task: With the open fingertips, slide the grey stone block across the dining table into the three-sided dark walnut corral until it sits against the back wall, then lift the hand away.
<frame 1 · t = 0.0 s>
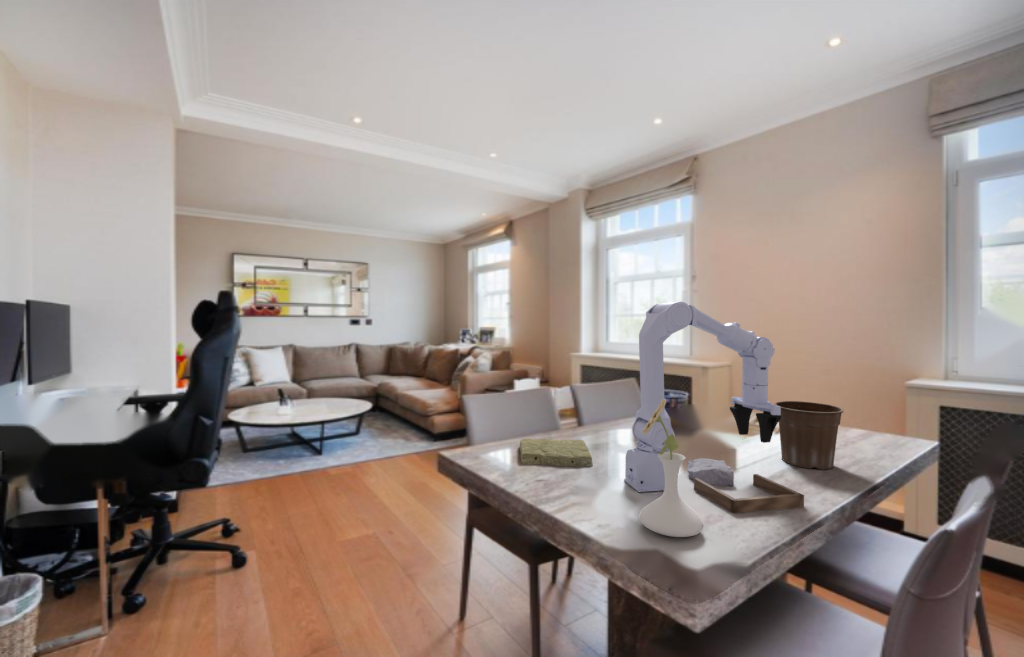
hand: (754, 438, 112), 10 cm above the table, tool pointing down, fingers open, 7 cm apart
walnut corral: (740, 494, 101), on the table
stone block: (707, 478, 113), on the table
decorative tile: (554, 458, 130), on the table
flower in vase: (668, 531, 83), on the table
plant pot: (806, 463, 125), on the table
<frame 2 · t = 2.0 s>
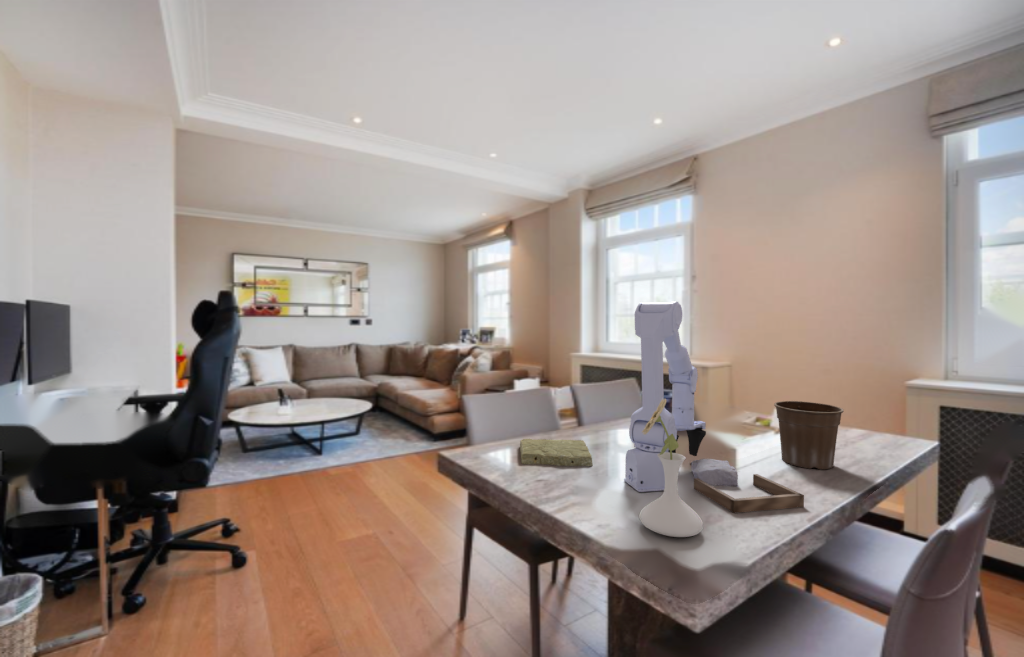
hand: (682, 456, 124), 2 cm above the table, tool pointing down, fingers open, 7 cm apart
nothing on the table moved.
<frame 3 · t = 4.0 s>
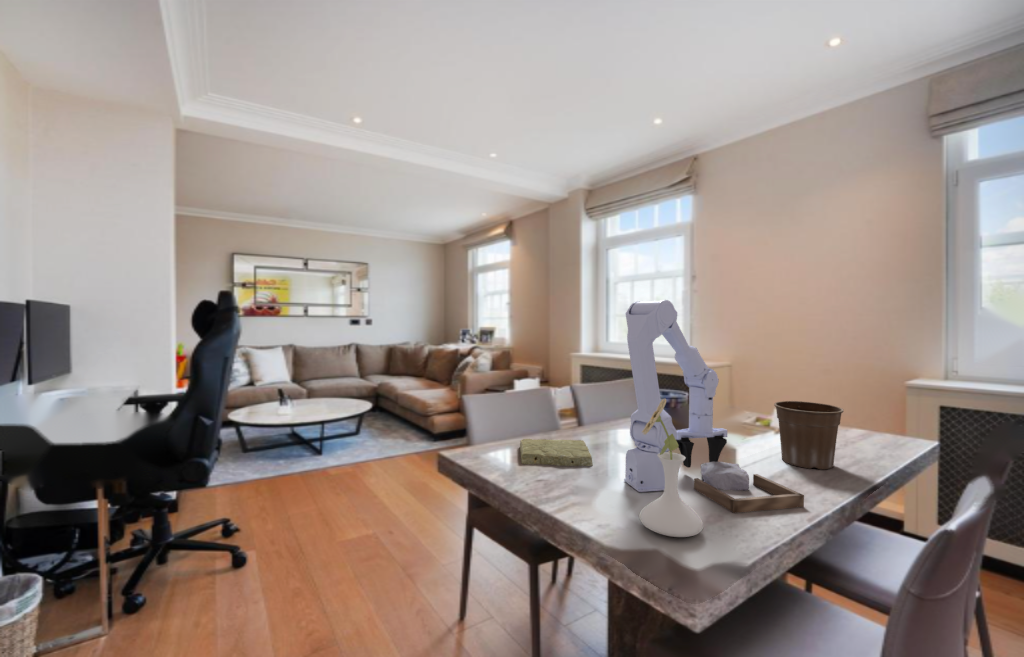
hand: (700, 465, 116), 2 cm above the table, tool pointing down, fingers open, 7 cm apart
stone block: (721, 482, 110), on the table, touching gripper
everything else where it was.
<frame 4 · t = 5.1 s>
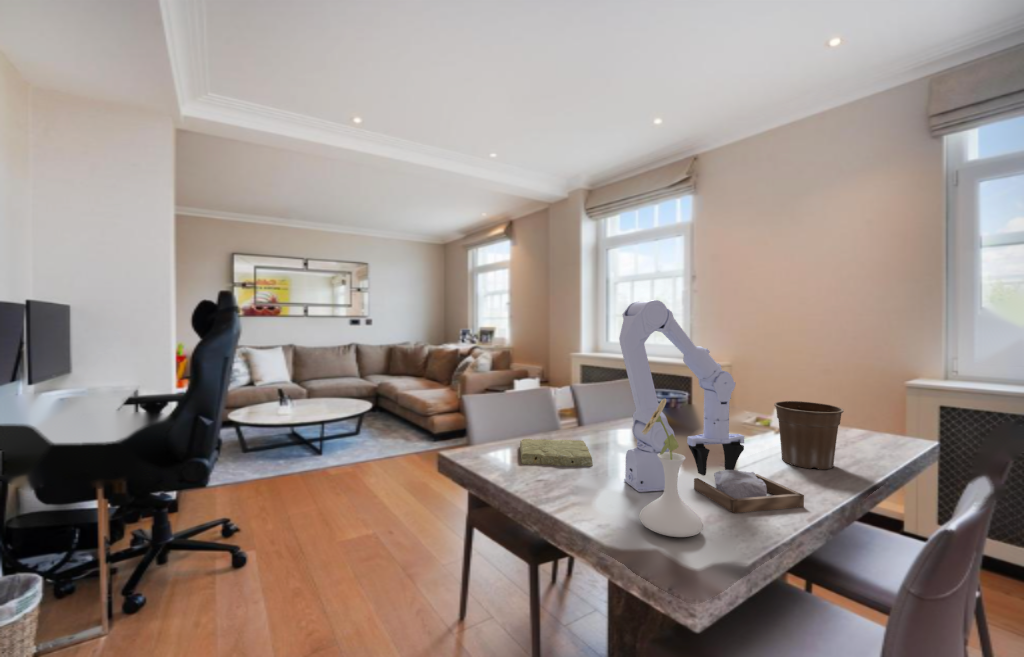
hand: (715, 473, 110), 2 cm above the table, tool pointing down, fingers open, 7 cm apart
stone block: (736, 492, 104), on the table
everything else where it was.
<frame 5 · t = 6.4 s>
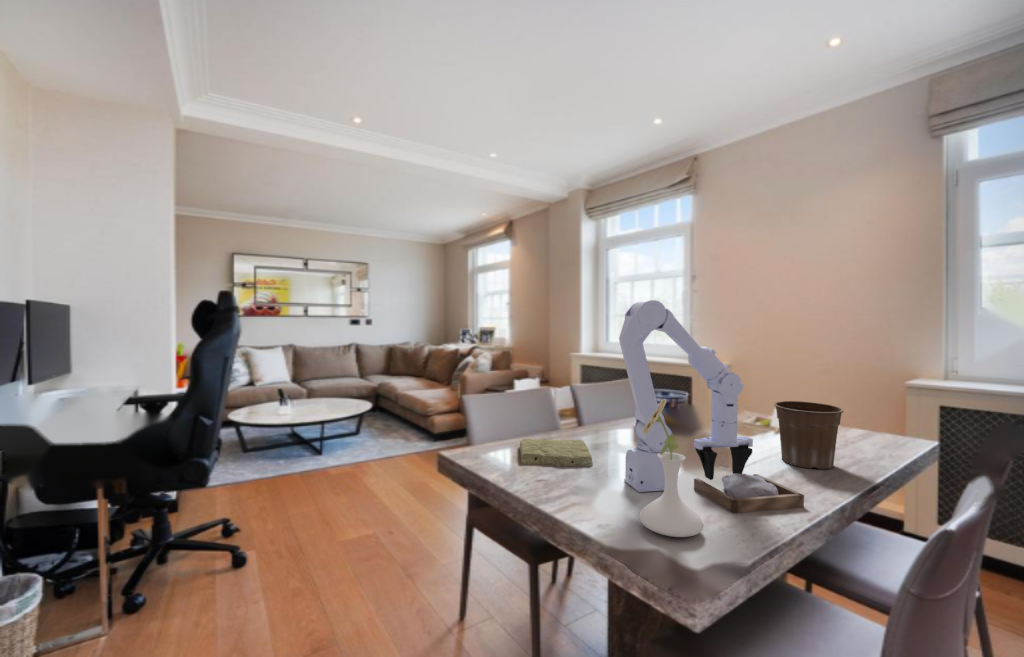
hand: (723, 477, 107), 2 cm above the table, tool pointing down, fingers open, 7 cm apart
stone block: (746, 497, 101), on the table
everything else where it was.
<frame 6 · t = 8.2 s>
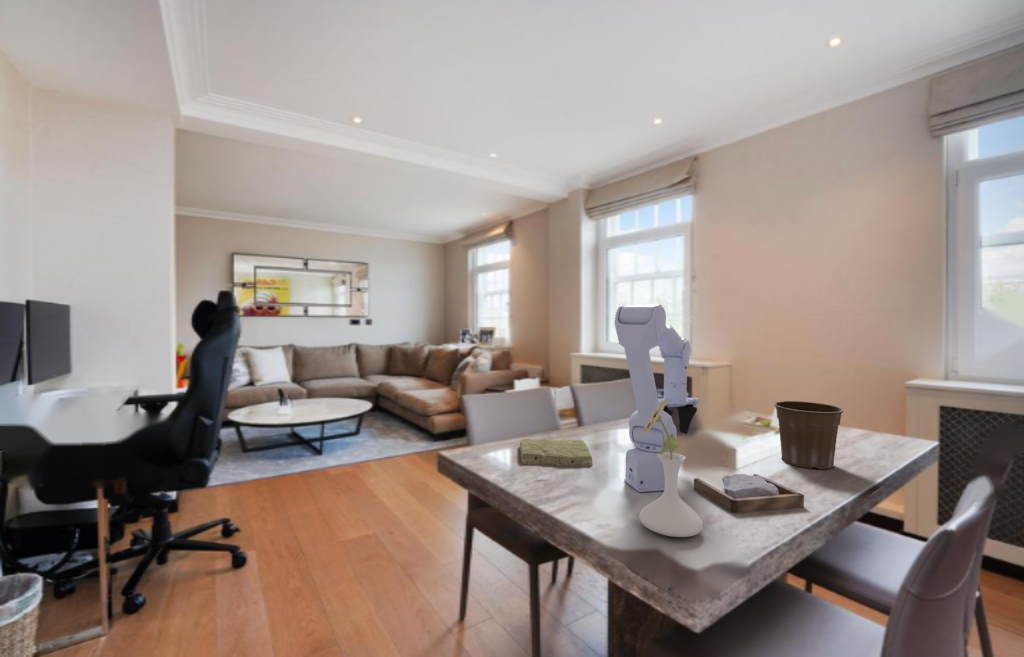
hand: (674, 433, 119), 9 cm above the table, tool pointing down, fingers open, 6 cm apart
nothing on the table moved.
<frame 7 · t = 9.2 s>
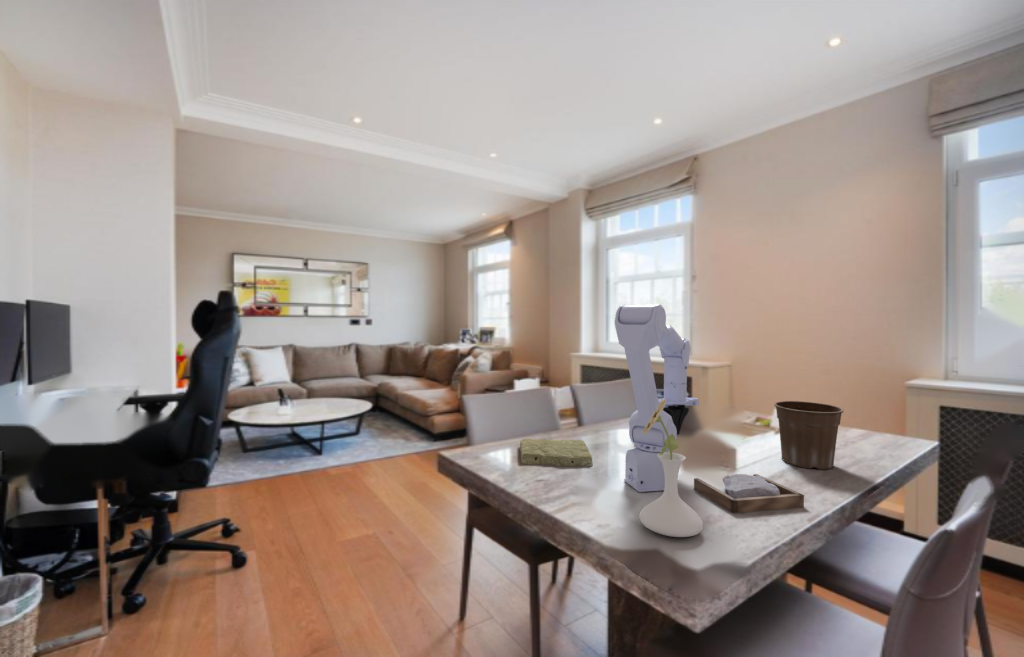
hand: (674, 433, 119), 9 cm above the table, tool pointing down, fingers closed
nothing on the table moved.
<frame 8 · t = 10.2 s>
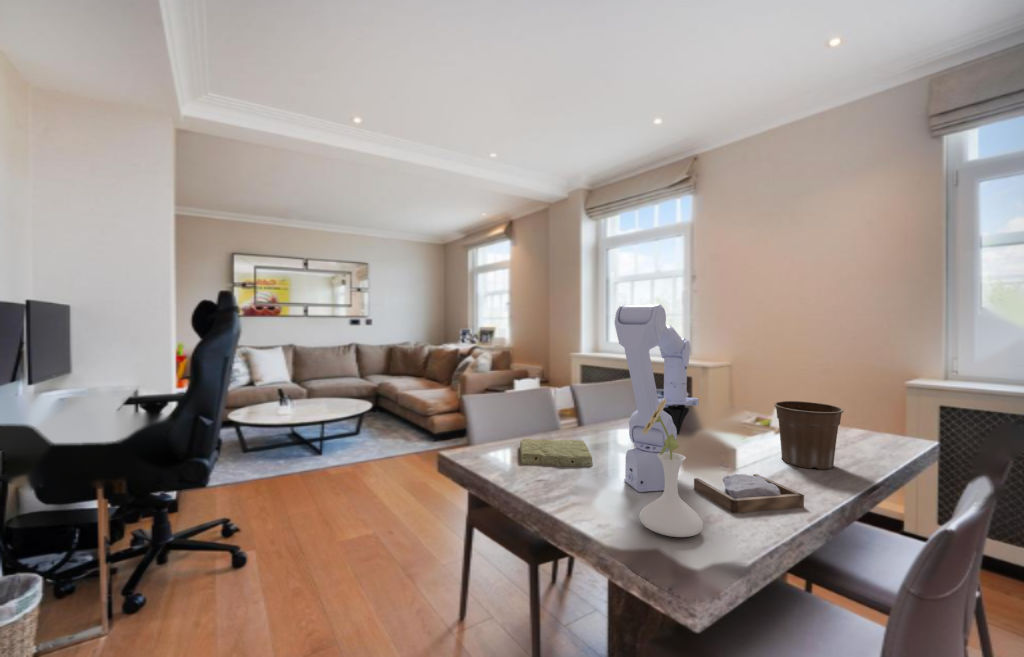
hand: (674, 433, 119), 9 cm above the table, tool pointing down, fingers closed
nothing on the table moved.
at the end: stone block 1.3 cm from the target spot on the walnut corral, point -0.5 cm above the walnut corral's base; stone block tilted 0°; the gripper is holding nothing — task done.
